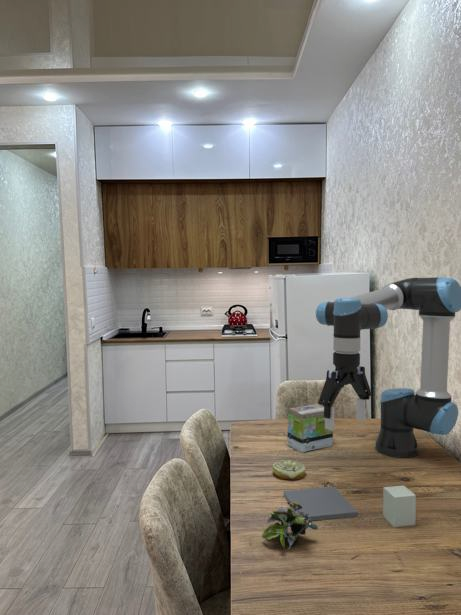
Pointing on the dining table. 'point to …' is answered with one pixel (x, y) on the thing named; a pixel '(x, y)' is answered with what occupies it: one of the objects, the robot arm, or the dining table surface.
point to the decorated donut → (289, 469)
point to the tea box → (308, 428)
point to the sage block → (399, 506)
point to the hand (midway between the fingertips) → (345, 425)
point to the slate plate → (321, 503)
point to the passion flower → (288, 524)
